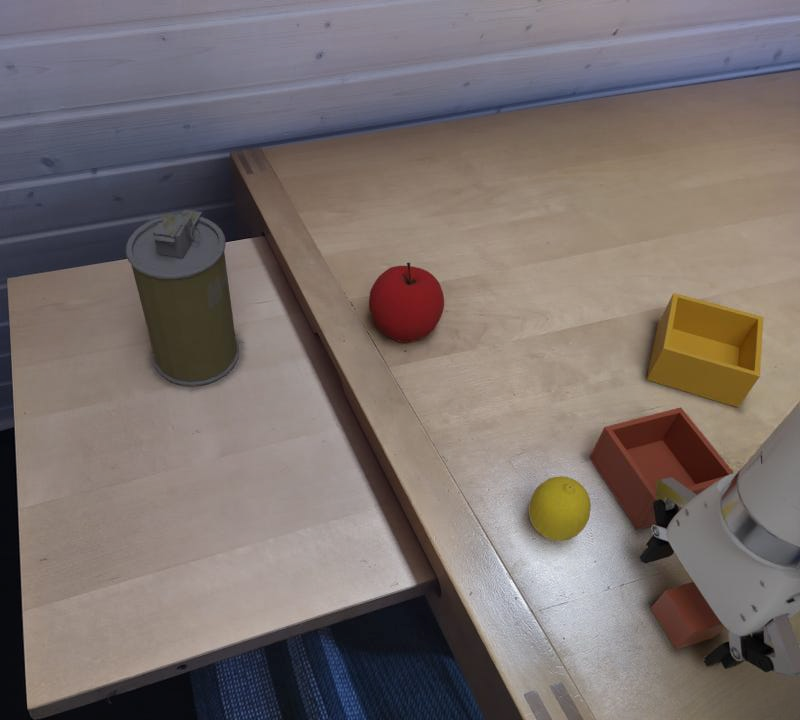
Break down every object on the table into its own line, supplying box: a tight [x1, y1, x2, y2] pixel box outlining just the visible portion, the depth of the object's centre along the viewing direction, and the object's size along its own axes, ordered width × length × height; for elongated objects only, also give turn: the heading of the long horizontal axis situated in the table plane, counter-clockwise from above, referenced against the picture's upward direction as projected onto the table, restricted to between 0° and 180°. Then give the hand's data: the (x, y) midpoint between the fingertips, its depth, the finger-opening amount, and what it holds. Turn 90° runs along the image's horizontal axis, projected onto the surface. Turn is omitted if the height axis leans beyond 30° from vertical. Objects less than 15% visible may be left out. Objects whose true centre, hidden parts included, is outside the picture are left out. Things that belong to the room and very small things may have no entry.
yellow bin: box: [646, 292, 764, 408], centre depth 85 cm, size 10×10×6 cm
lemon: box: [528, 475, 592, 542], centre depth 69 cm, size 6×6×8 cm
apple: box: [368, 262, 445, 343], centre depth 87 cm, size 9×9×10 cm
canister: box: [125, 209, 240, 387], centre depth 81 cm, size 11×10×20 cm
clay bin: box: [589, 406, 735, 531], centre depth 73 cm, size 9×9×6 cm
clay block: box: [650, 581, 726, 651], centre depth 64 cm, size 4×4×4 cm
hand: (685, 605), depth 64 cm, fingers open, 9 cm apart
